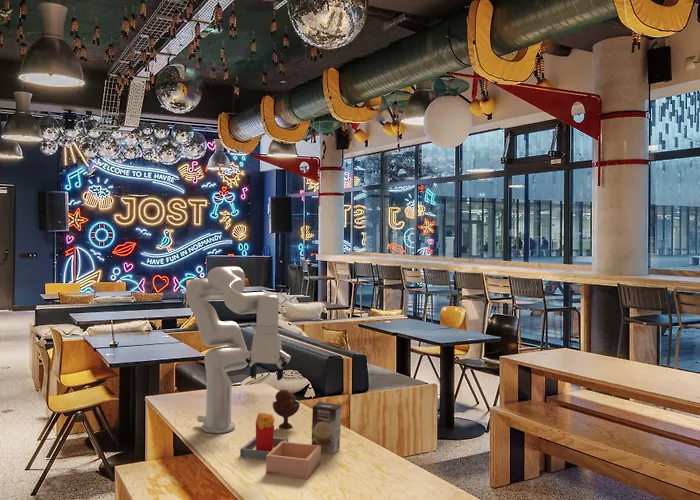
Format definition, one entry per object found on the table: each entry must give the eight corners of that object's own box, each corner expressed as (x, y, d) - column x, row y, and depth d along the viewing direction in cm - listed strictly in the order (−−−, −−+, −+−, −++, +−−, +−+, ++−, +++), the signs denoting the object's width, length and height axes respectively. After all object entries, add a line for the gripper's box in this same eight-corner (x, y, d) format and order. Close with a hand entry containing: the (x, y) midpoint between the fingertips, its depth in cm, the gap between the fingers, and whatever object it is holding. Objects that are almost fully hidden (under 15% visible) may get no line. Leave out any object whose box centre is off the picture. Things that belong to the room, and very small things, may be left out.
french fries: (252, 448, 223) (253, 412, 223) (262, 446, 226) (263, 410, 225) (266, 456, 216) (267, 418, 216) (277, 453, 219) (277, 416, 218)
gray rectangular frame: (240, 456, 215) (240, 449, 215) (257, 442, 230) (257, 435, 230) (273, 460, 212) (273, 453, 212) (288, 445, 227) (288, 438, 227)
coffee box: (310, 450, 222) (311, 405, 222) (317, 444, 228) (318, 401, 228) (334, 454, 219) (335, 409, 219) (340, 448, 225) (341, 404, 225)
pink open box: (265, 473, 201) (266, 455, 200) (281, 458, 214) (281, 441, 214) (307, 479, 197) (308, 460, 197) (320, 463, 211) (320, 445, 211)
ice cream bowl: (295, 432, 241) (296, 393, 241) (267, 429, 244) (268, 391, 243) (302, 424, 252) (303, 387, 251) (276, 421, 254) (277, 385, 253)
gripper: (239, 330, 218) (239, 379, 218) (287, 333, 214) (286, 382, 214) (248, 326, 225) (247, 374, 226) (294, 329, 221) (293, 378, 221)
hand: (266, 378), depth 220 cm, fingers open, 9 cm apart
